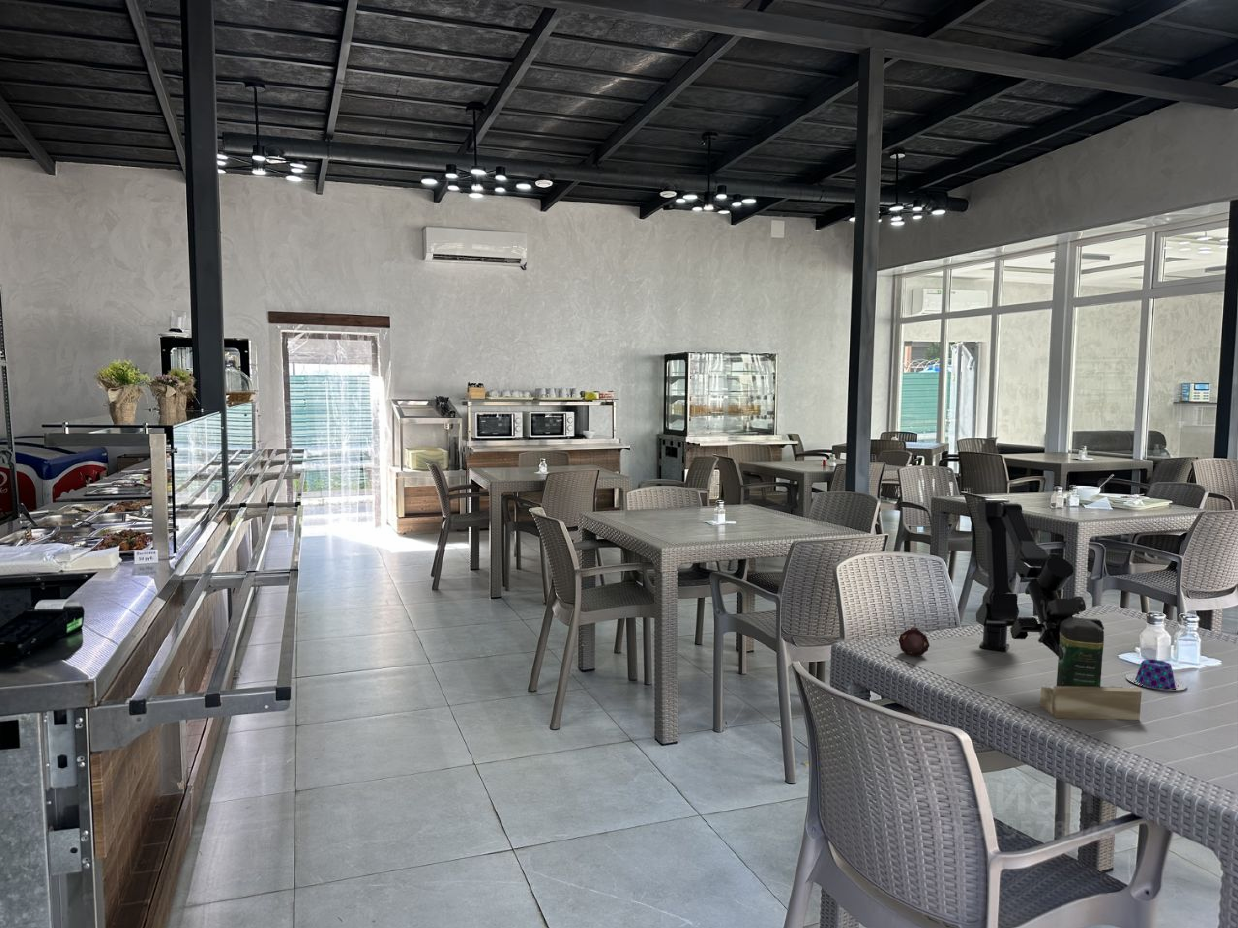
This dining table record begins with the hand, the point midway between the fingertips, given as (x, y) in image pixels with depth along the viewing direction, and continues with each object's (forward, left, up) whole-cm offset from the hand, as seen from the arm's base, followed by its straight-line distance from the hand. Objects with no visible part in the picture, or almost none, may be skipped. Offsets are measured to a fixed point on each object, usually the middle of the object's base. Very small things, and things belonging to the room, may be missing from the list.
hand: (1068, 663), depth 183 cm
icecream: (-11, -35, -8) cm, 38 cm away
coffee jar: (+4, +2, -8) cm, 9 cm away
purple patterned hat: (-23, +17, -8) cm, 29 cm away
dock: (+8, +5, -8) cm, 12 cm away
